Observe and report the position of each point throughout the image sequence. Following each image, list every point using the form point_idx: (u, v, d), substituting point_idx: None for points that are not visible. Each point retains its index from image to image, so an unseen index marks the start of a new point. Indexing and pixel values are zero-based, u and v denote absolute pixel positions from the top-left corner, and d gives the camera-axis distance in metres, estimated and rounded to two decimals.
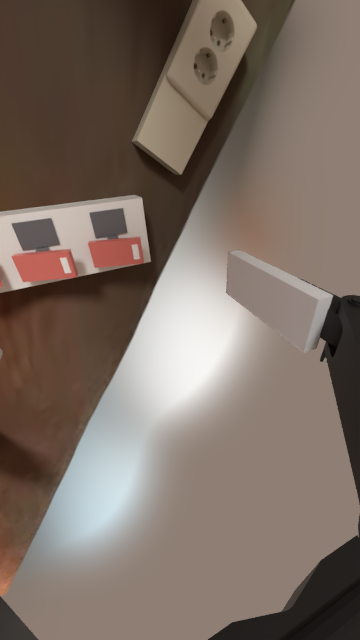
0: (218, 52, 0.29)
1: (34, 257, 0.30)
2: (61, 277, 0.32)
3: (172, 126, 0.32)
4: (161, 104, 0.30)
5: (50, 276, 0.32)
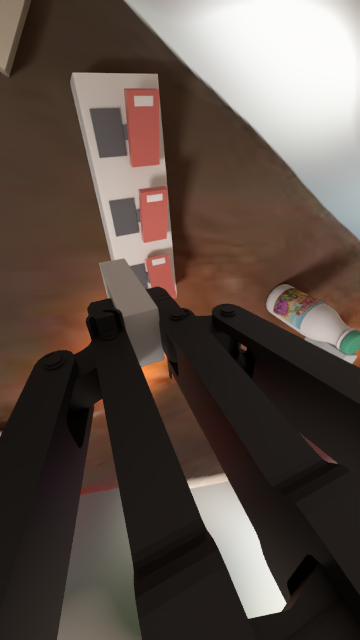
0: None
1: (145, 225, 0.33)
2: (166, 204, 0.32)
3: None
4: None
5: (164, 214, 0.33)
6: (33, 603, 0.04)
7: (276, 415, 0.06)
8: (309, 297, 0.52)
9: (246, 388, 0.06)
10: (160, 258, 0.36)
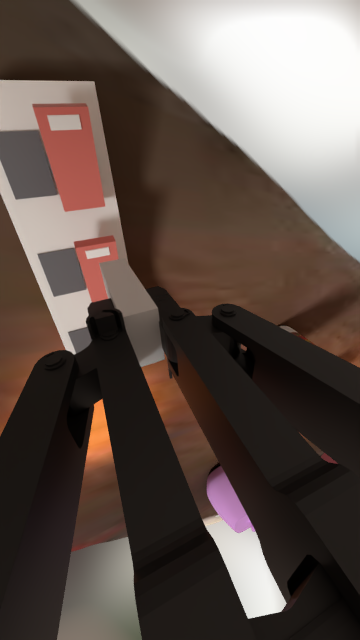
0: None
1: (90, 284, 0.24)
2: (116, 259, 0.23)
3: None
4: None
5: None
6: (33, 603, 0.04)
7: (276, 415, 0.06)
8: None
9: (246, 388, 0.06)
10: None
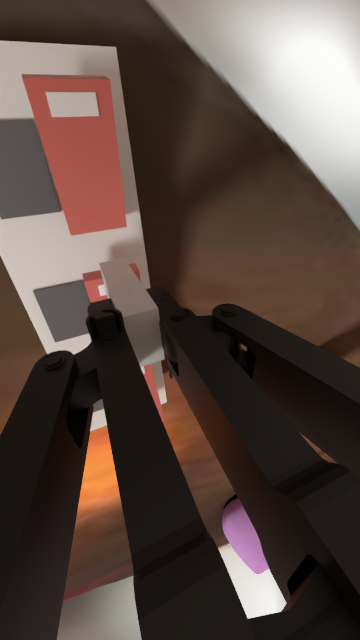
0: None
1: None
2: None
3: None
4: None
5: None
6: (32, 603, 0.04)
7: (276, 415, 0.06)
8: None
9: (247, 388, 0.06)
10: None
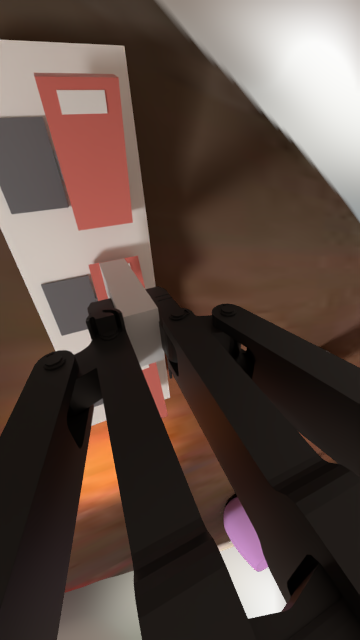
0: None
1: None
2: (141, 282, 0.18)
3: None
4: None
5: None
6: (33, 603, 0.04)
7: (276, 415, 0.06)
8: None
9: (246, 388, 0.06)
10: None
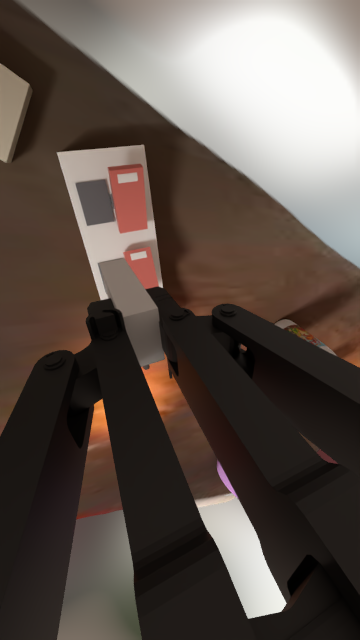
0: None
1: None
2: (152, 261, 0.32)
3: None
4: None
5: (152, 272, 0.32)
6: (33, 603, 0.04)
7: (276, 415, 0.06)
8: (309, 337, 0.50)
9: (246, 388, 0.06)
10: None
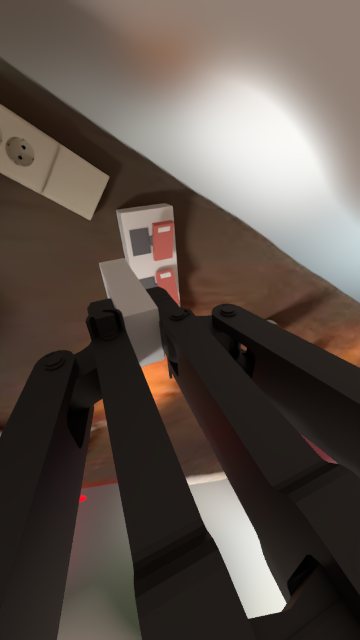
0: (3, 136, 0.31)
1: None
2: (174, 279, 0.47)
3: (73, 186, 0.37)
4: (60, 197, 0.37)
5: (174, 286, 0.47)
6: (33, 603, 0.04)
7: (276, 415, 0.06)
8: None
9: (246, 388, 0.06)
10: None
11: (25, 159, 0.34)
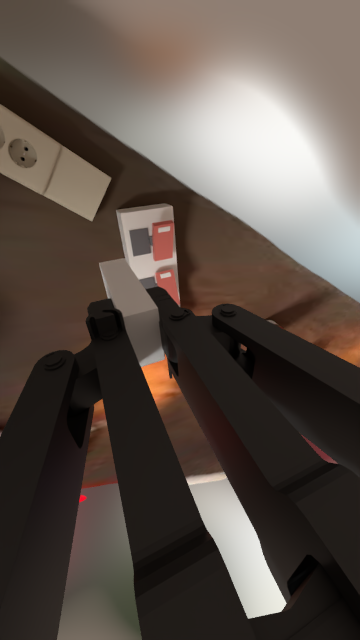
0: (6, 138, 0.31)
1: None
2: (174, 279, 0.47)
3: (75, 187, 0.37)
4: (62, 198, 0.37)
5: (174, 286, 0.47)
6: (33, 603, 0.04)
7: (276, 415, 0.06)
8: None
9: (246, 388, 0.06)
10: None
11: (27, 161, 0.34)
